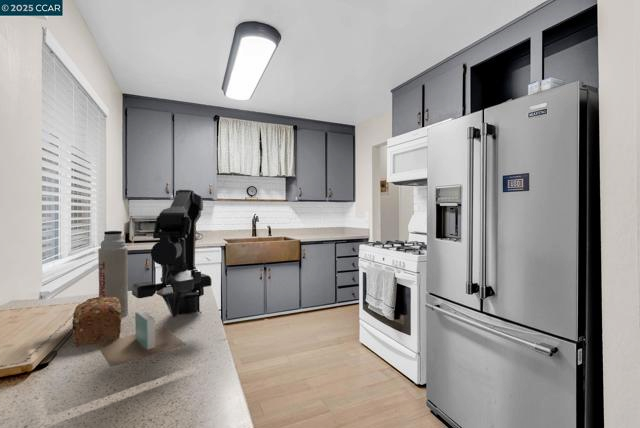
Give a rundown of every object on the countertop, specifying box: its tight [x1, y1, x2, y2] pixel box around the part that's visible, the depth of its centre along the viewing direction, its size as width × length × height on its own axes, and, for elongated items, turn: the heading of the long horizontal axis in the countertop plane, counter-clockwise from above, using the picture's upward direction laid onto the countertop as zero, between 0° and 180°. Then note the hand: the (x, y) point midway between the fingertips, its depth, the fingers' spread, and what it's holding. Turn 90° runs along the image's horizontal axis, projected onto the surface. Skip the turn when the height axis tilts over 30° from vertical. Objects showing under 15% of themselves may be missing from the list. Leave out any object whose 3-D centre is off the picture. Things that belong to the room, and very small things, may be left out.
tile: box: [134, 309, 156, 350], centre depth 79 cm, size 2×9×7 cm, turn 45°
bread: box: [71, 296, 122, 347], centre depth 87 cm, size 19×11×10 cm, turn 33°
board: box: [96, 326, 187, 367], centre depth 79 cm, size 16×16×1 cm
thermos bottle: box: [97, 230, 129, 319], centre depth 104 cm, size 8×8×28 cm
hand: (174, 316), depth 84 cm, fingers closed
